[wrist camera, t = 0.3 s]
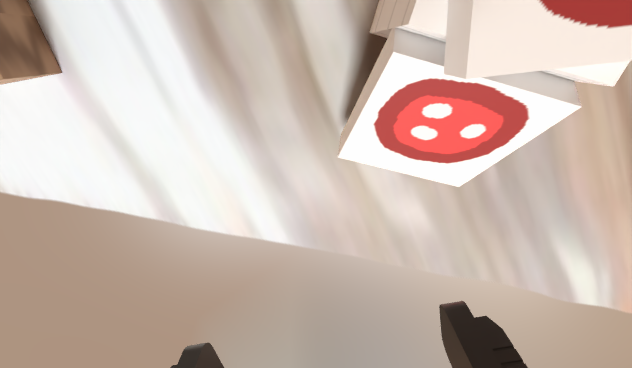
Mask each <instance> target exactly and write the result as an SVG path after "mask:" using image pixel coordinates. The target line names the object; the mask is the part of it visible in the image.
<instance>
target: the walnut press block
mask: <svg viewBox="0 0 632 368" xmlns="http://www.w3.org/2000/svg"><path fill="white" fill-rule="evenodd" d="M59 73H62V72H61V70H60V67H59V65H58V63H57V61H56V59H55V57H54V55H53V53H52V51H51V49H50V47H49V45H48V43H47V41H46V39H45V37H44V35H43V32H42V30H41V28H40V26H39V24H38V22H37V20H36V18H35V16H34V14H33V12H32V10H31V8H30V6H29V4H28V2H27V0H0V85H1V84H6V83H11V82H17V81H22V80H27V79H32V78H38V77H43V76H48V75H54V74H59Z"/></svg>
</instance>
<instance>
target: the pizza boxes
mask: <svg viewBox="0 0 632 368" xmlns="http://www.w3.org/2000/svg"><path fill="white" fill-rule="evenodd" d="M370 33H372V34H375V35H378V36H382V37H385V38H387V41H386V43H385V45H384V47H383V49H382V51H381V53H380V55H379V57H378V59H377V61H376V63H375V65H374V67H373V69H372V72H371V74H370V76H369V78H368V80H367V82H366V84H365V86H364V88H363V90H362V92H361V94H360V96H359V98H358V100H357V103H356V105H355V107H354V109H353V111H352V113H351V115H350V117H349V119H348V121H347V123H346V125H345V127H344V129H343V131H342V134H341V138H340V145H339V152H338V157H339V158H343V159H347V160H351V161H355V162H359V163H363V164H367V165H371V166H376V167H380V168H384V169H388V170H392V171H396V172H400V173H404V174H408V175H412V176H416V177H420V178H424V179H428V180H432V181H437V182H441V183H445V184H449V185H453V186H457V187H460V186H461V185H463V184H464V183H466V182H467V181H469V180H470V179H472V178H473V177H475V176H476V175H478V174H480V173H481V172H483V171H484V170H486V169H487V168H489V167H490V166H492V165H493V164H495V163H496V162H498V161H499V160H501V159H503V158H504V157H506V156H507V155H509V154H510V153H512V152H513V151H515V150H516V149H518V148H519V147H521V146H522V145H524V144H525V143H527V142H529V141H530V140H532V139H533V138H535V137H536V136H538V135H539V134H541V133H542V132H544V131H545V130H547V129H548V128H550V127H551V126H553V125H555V124H556V123H558V122H559V121H561V120H562V119H564V118H565V117H567V116H568V115H570V114H571V113H573V112H574V111H576V110H577V109H579V108H581V107H582V106H581V102H580V99H579V96H578V92H577V89H576V85H575V82H574V81H578V82H585V83H592V84H599V85H606V86H613V87H614V85H615V84H616V82H617V81H618V79H619V77H620V76H621V74H622V73H623V71H624V70H625V68H626V67H627V65H628V63H629V62H630V61H631V60H632V0H379V2H378V6H377V9H376V12H375V16H374V19H373V23H372V26H371V29H370Z"/></svg>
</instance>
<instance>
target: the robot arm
mask: <svg viewBox="0 0 632 368" xmlns="http://www.w3.org/2000/svg"><path fill="white" fill-rule="evenodd" d="M439 308H440V320H441V333H442V340H443V344H444V347H445V350H446V353H447V356H448V358H449V361H450V363H451V365H452V368H527V366H526V364H524V363H523V360H522V358H521V357H520V355H519V354H518V352H517V351H516V349H514V347H513V344H512V343H511V342H510V340H509V338H508V337H507V335H506V334H505V332H504V331H503V329H502V328H501V327H499V326H498V325H497V324H496V323H494V322H493V321H492V320H491V319H489V318H488V317H487V316H482V317H476V318H474V317H473V315H472V313H471V312H470V310H469V308H468V307H467V305H466V303H465V302H463V301H460V302H454V303H447V304H441V305H440V307H439ZM171 368H224V367H223V365H222V363H221V361H220V359H219V358H218V356H217V354H216V352H215V350H214V349H213V347H212V345H211V344H210V343H203V344H197V345H191V346H187V347H186V348H185V349H184V351H183V353H182V355H181V357H180V360H179V362H178V364H177V365H173V366H172V367H171Z"/></svg>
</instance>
